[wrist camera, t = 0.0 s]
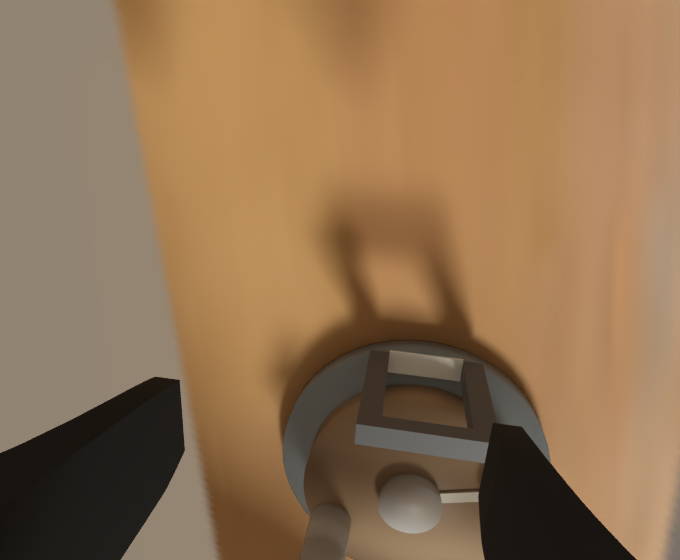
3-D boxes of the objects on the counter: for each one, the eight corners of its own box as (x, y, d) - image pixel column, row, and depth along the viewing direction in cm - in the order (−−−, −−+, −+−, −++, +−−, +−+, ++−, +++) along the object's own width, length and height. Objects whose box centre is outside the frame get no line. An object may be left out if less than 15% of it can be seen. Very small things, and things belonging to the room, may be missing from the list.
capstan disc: (497, 564, 23) (517, 681, 19) (307, 532, 24) (280, 634, 20) (537, 400, 20) (572, 493, 15) (314, 371, 21) (284, 449, 16)
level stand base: (518, 566, 25) (546, 703, 19) (286, 527, 26) (250, 643, 21) (571, 358, 20) (628, 457, 15) (290, 324, 22) (245, 403, 16)
